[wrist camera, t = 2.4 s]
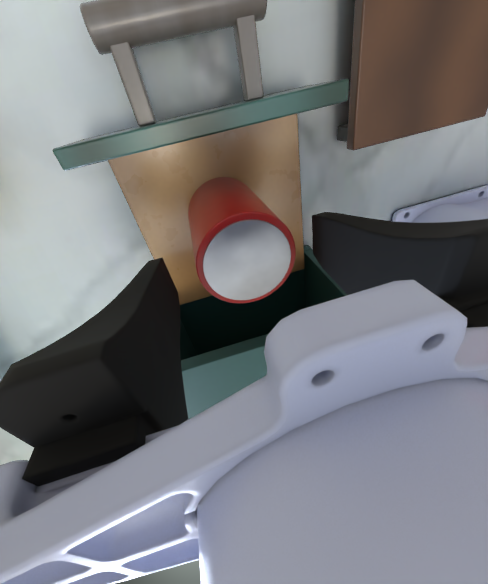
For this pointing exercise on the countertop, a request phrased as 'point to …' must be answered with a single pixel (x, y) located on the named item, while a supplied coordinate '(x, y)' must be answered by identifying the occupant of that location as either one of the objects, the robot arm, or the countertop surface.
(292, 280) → the teal open box
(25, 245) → the countertop surface
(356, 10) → the brown square board
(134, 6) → the handled drawer
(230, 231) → the can
